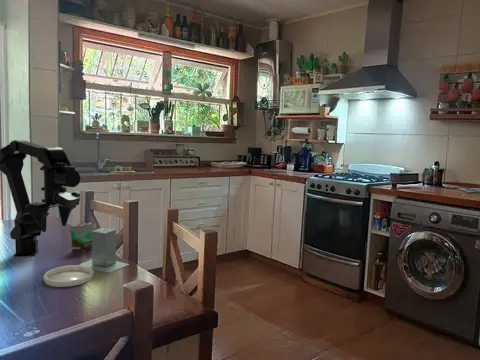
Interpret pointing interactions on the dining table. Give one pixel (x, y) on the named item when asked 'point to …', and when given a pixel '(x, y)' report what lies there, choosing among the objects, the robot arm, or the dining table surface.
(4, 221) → the dining table surface
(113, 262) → the tea tin
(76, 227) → the food container
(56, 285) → the ceramic dish
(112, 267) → the rubber mat
